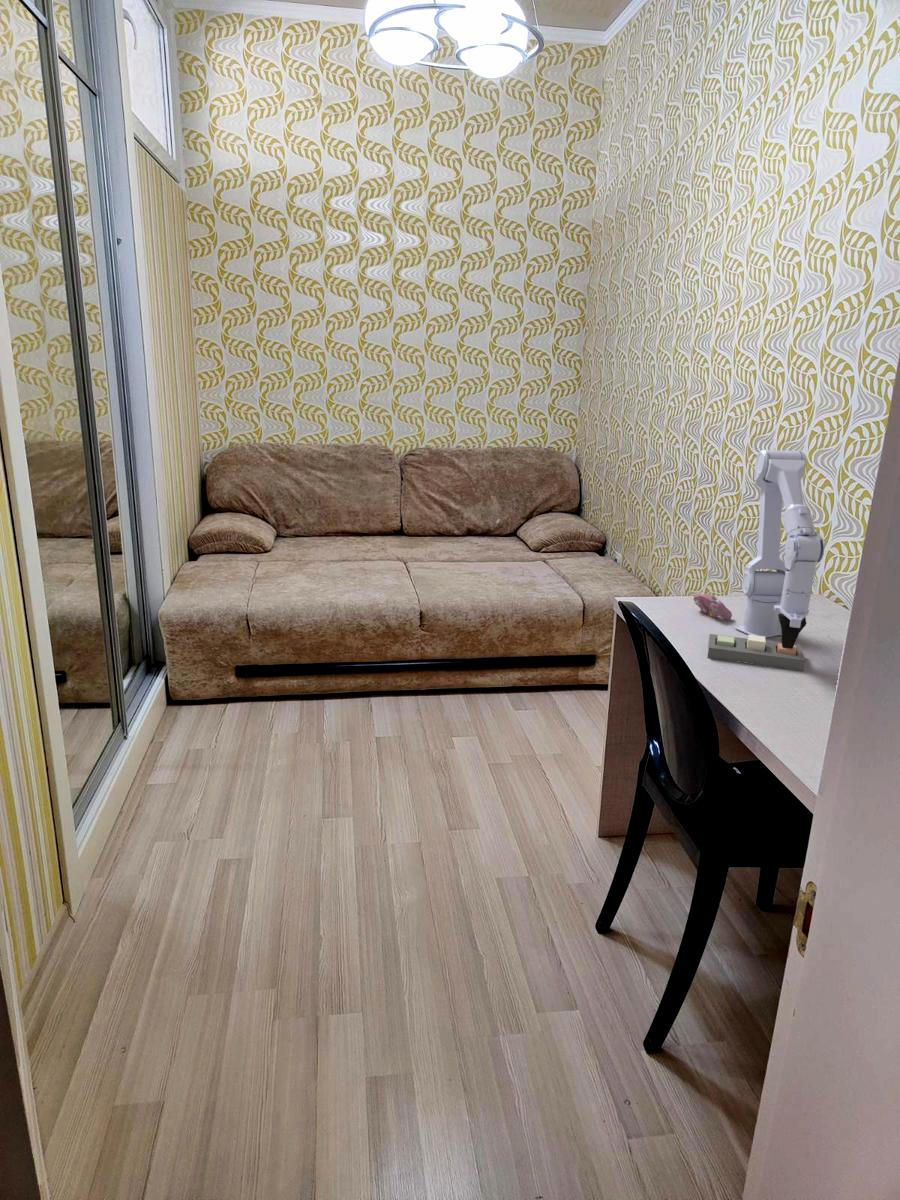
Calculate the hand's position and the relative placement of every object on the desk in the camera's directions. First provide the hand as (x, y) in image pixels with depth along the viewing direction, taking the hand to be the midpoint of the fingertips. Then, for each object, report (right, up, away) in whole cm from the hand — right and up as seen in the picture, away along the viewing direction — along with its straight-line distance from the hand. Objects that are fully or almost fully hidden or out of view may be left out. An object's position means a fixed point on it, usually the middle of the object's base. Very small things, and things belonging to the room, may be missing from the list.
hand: (787, 647), depth 178 cm
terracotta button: (0, -3, +1) cm, 3 cm away
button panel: (-6, -2, +3) cm, 7 cm away
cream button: (-6, -1, +2) cm, 7 cm away
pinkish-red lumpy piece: (-8, +6, +29) cm, 31 cm away
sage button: (-12, -1, +5) cm, 13 cm away
